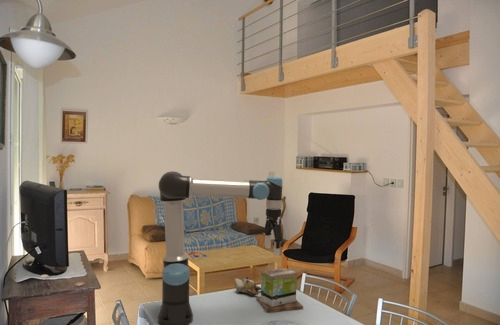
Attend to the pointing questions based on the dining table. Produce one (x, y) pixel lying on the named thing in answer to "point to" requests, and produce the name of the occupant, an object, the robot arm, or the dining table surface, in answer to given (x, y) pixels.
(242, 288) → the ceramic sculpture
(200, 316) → the dining table surface
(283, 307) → the walnut board
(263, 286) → the tea box
